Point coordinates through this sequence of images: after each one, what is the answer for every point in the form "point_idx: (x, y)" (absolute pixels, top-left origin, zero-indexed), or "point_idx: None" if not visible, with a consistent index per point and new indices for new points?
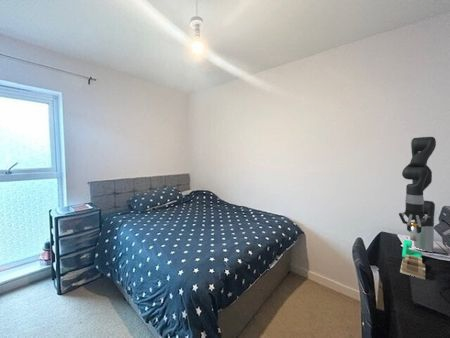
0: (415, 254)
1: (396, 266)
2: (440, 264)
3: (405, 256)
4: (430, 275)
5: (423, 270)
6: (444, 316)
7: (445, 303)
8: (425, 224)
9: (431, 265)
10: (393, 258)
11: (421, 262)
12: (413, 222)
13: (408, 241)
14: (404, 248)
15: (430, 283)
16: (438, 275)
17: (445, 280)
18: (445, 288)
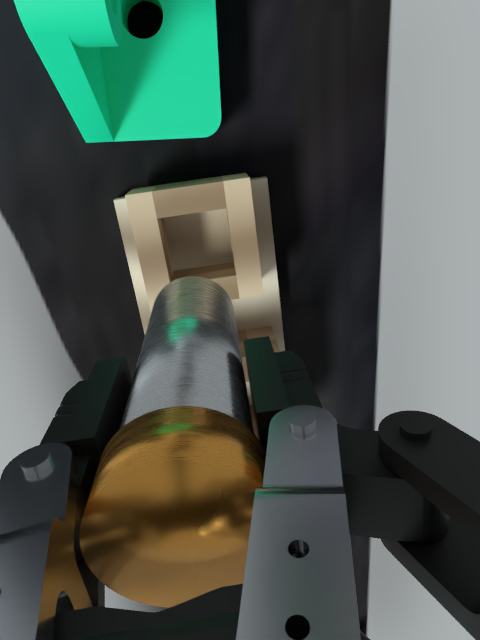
0: (171, 20)
1: (125, 357)
2: (357, 8)
3: (139, 257)
4: (308, 326)
5: (272, 317)
6: (364, 630)
7: (369, 556)
8: (452, 567)
9: (300, 112)
10: (52, 214)
11: (260, 293)
12: (154, 506)
13: (74, 4)
14: (77, 97)
15: None
16: (346, 284)
17: (378, 329)
18: (374, 430)
